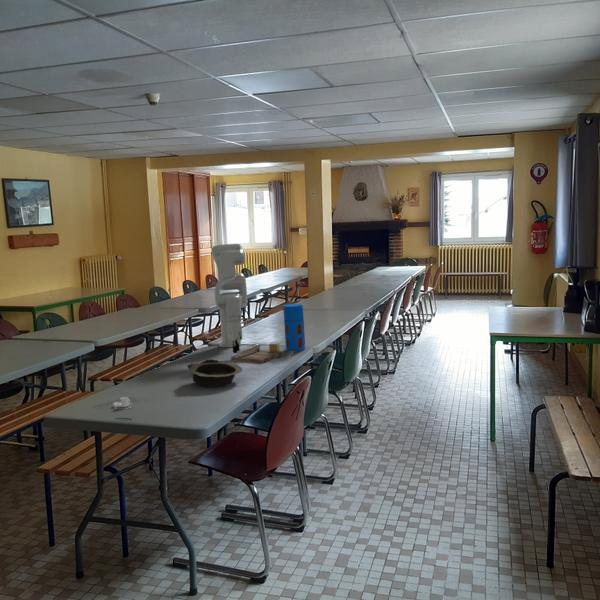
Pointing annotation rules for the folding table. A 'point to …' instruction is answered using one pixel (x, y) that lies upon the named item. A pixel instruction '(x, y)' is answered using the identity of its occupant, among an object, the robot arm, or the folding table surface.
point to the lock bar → (248, 350)
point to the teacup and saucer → (122, 402)
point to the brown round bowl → (213, 373)
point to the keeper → (274, 347)
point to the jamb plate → (258, 356)
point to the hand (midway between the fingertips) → (236, 352)
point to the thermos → (294, 327)
